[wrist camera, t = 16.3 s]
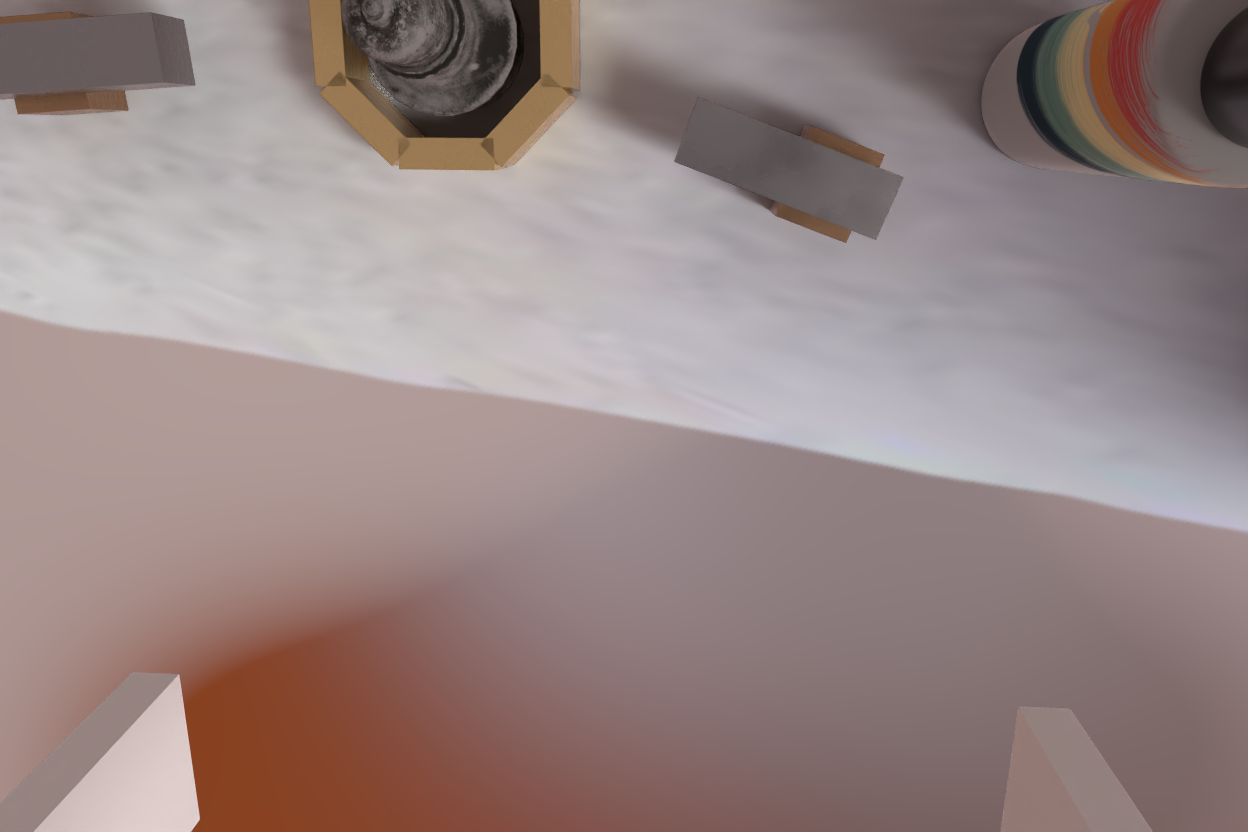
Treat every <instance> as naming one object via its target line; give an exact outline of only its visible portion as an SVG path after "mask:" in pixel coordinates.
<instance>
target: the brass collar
mask: <svg viewBox="0 0 1248 832" xmlns="http://www.w3.org/2000/svg"><path fill="white" fill-rule="evenodd" d="M341 6H342V0H309V7H310V20H311V32H312V45H313V57H314V70H315V82H316V86H320V87H325V88H324V89H323V90H322V92H321V93H320V95H321V96H322V97H323V98H324V99H325V100H326V101H327V102H328V103H329V104H330V105H331V106H332V107H333V108H334V109H335V110H336V111H337V112H338V113H339V114H340V115H341V116H342V117H343V118H344V119H345V120H346V121H347V122H348V123H349V124H350V125H351V126H352V127H353V128H354V129H355V130H356V131H357V132H358V133H359V134H360V135H361V136H362V137H363V138H364V139H365V140H366V141H367V142H368V143H369V144H370V145H371V146H372V147H373V148H374V149H375V150H376V151H377V152H378V153H379V154H380V155H381V156H382V157H383V158H384V159H385V160H386V161H387V162H388V163H389V164H390V165H391V166H395V165H399V169H435V170H497V169H502V168H507V167H508V166H509V165H514V164H515V163H516V162H517V161H518V160H519V159H520V158H521V157H522V156H523V155H524V154H525V153H526V152H527V151H528V149H529V148H530V147H531V146H532V145H533V144H534V143H535V142H536V141H537V140H538V139H539V138H540V137H541V136H542V135H543V134H544V133H545V131H546V130H547V129H548V128H549V127H550V126H551V125H552V124H553V123H554V122H555V121H556V120H557V119H558V118H559V117H560V116H561V115H562V113H563V112H564V111H565V110H566V109H567V108H568V107H569V106H570V105H571V104H572V103H573V102H574V101H575V100H576V99H577V97H576V96H575V95H574V94H573V93H572V92H571V91H570V90H578V91H580V0H540V59H541V79H540V80H539V81H538V82H537V83H536V84H535V85H534V86H533V87H532V88H531V89H530V90H529V91H528V93H527V94H526V95H525V96H524V97H523V98H522V99H521V100H520V101H519V102H518V103H517V104H516V106H515V107H514V108H513V109H512V110H511V111H510V112H509V113H508V114H507V115H506V116H505V117H504V118H503V120H502V121H501V122H500V123H499V124H498V125H497V126H496V127H495V128H494V129H493V130H492V131H491V133H490V134H489V135H488V136H487V137H486V138H466V137H425V136H424V135H423V134H422V133H421V132H420V131H419V130H418V129H417V128H416V127H415V126H414V125H413V124H412V123H411V122H410V121H409V120H408V119H407V118H406V117H405V116H404V115H403V114H402V113H401V112H400V111H399V110H398V109H397V108H396V107H395V106H394V105H393V104H392V103H391V102H390V101H389V100H388V99H387V98H386V97H385V96H384V95H383V94H382V93H381V92H380V91H379V90H378V89H377V88H376V87H375V86H374V85H373V84H372V83H371V82H370V78H369V62H368V58H367V55H366V54H364V53H362V52H361V51H360V50H359V49H358V48H357V47H356V46H355V45H354V44H353V42H352V41H351V39H350V38H349V36H348V34H347V33H346V31H345V28H344V24H343V21H342V12H341Z"/></svg>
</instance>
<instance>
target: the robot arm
mask: <svg viewBox="0 0 1248 832" xmlns="http://www.w3.org/2000/svg"><path fill="white" fill-rule="evenodd" d="M199 819H200V817H199V810H198V803H197V796H196V789H195V782H194V775H193V768H192V761H191V754H190V747H189V740H188V734H187V726H186V720H185V712H184V705H183V699H182V692H181V684H180V677H179V674H158V673H131V674H130V676H128V678H127V679H125V680H124V681H123V682H122V683H121V684H120V685H119V686H118V687H117V688H116V689H115V690H114V691H113V692H112V693H111V694H110V695H109V696H108V697H107V698H106V699H105V700H104V701H103V702H102V703H101V704H100V705H99V706H98V707H97V708H96V709H95V710H94V711H93V712H92V713H91V714H90V715H89V716H88V717H87V718H86V719H85V720H84V721H83V722H82V723H81V724H80V725H79V726H78V727H77V728H76V729H75V730H74V731H73V732H72V733H71V734H70V735H69V736H68V737H67V738H66V739H65V740H64V741H63V742H62V743H61V744H60V745H59V746H57V748H56V749H54V750H53V751H52V752H51V754H49V755H48V756H47V757H46V758H45V759H44V760H43V761H42V762H41V763H40V764H39V765H38V766H37V767H36V768H35V769H34V770H33V771H32V772H31V773H30V774H29V775H28V776H27V777H26V778H25V779H24V780H23V781H22V782H21V783H20V784H19V785H18V786H17V787H16V788H15V789H14V790H13V791H12V792H11V793H10V794H9V795H8V796H7V797H6V798H5V799H4V800H3V801H2V802H1V803H0V832H191V831H192V829H193V828H194V827H195V825H196V823H197V822H198V821H199ZM1001 832H1153V831H1152V830H1151V828H1150V827H1149V825H1148V824H1147V823H1146V821H1145V819H1144V818H1143V816H1142V815H1141V813H1140V812H1139V810H1138V809H1137V807H1136V806H1135V804H1134V803H1133V801H1132V800H1131V798H1130V797H1129V796H1128V794H1127V793H1126V791H1125V790H1124V788H1123V787H1122V785H1121V784H1120V782H1119V781H1118V779H1117V778H1116V776H1115V775H1114V773H1113V772H1112V770H1111V769H1110V767H1109V766H1108V764H1107V763H1106V761H1105V760H1104V758H1103V757H1102V755H1101V754H1100V752H1099V751H1098V749H1097V748H1096V746H1095V745H1094V744H1093V742H1092V741H1091V739H1090V738H1089V736H1088V735H1087V733H1086V732H1085V730H1084V729H1083V727H1082V726H1081V724H1080V723H1079V721H1078V720H1077V718H1076V717H1075V715H1074V714H1073V713H1072V711H1071V710H1070V709H1065V708H1039V707H1018V714H1017V721H1016V728H1015V735H1014V742H1013V749H1012V756H1011V763H1010V770H1009V777H1008V784H1007V790H1006V797H1005V805H1004V811H1003V819H1002V825H1001Z"/></svg>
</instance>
